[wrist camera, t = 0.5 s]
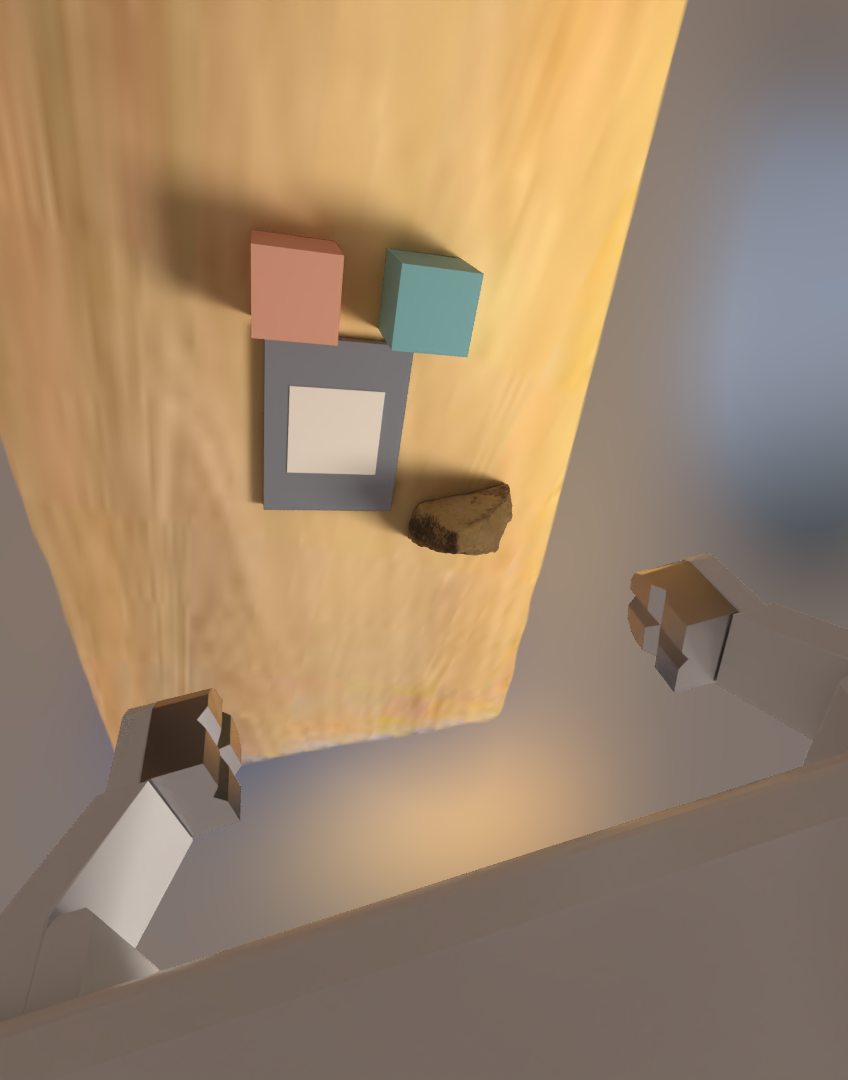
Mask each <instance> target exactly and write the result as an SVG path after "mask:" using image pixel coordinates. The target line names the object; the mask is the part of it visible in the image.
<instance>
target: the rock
mask: <svg viewBox="0 0 848 1080" xmlns="http://www.w3.org/2000/svg"><path fill="white" fill-rule="evenodd" d="M511 519H512V502H511V497H510V488H509V486H508V484H505V485H499V486H495V487H492V488H488V489H485V490H480V491H475V492H472V493H468V494H464V495H454V496H450V497H444V498H441V499H437V500H435V501H426V502H423V503H421V504H419V505H418V506H417V508H416V510H415V512H414V514H413V516H412V518H411V520H410V523H409V535H408V538H409V539H411V540H412V542H413V543H415V544H417V545H418V546H420V547H428V548H429V549H431V550H434V551H436V552H441V553H452V554H466V555H480V554H488V553H489V552H496V551H497V550H498V548H499V542H500V539H501V537H502V535H503V533H504V530H505V528H506V525H507V523H508V522H509V521H511Z"/></svg>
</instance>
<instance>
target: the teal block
mask: <svg viewBox="0 0 848 1080" xmlns="http://www.w3.org/2000/svg"><path fill="white" fill-rule="evenodd" d="M483 275H484V274H483V273H481V272H480V271H478V270H477V269H475V268H474V267H473V266H471V265H470V264H468V263H467V262H465V261H464V260H462V259H461V258H454V257H446V256H439V255H432V254H425V253H417V252H410V251H403V250H395V249H388V248H387V251H386V260H385V269H384V278H383V288H382V297H381V306H380V315H379V324H378V329H379V331H380V332H381V334H382V336H383V337H384V339H385V341H386V342H387V344H388V346H389V347H390V349H391V351H402V352H414V353H425V354H436V355H448V356H459V357H467V356H468V351H469V346H470V341H471V336H472V331H473V326H474V321H475V315H476V310H477V305H478V300H479V295H480V290H481V285H482V280H483Z"/></svg>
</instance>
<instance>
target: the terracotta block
mask: <svg viewBox="0 0 848 1080" xmlns="http://www.w3.org/2000/svg"><path fill="white" fill-rule="evenodd" d="M343 267H344V254H343V253H342V251H341V250H340V249H339V247H338V246H337V244H336V243H335V241H330V240H323V239H315V238H308V237H301V236H294V235H286V234H279V233H272V232H264V231H257V230H251V338H256V339H267V340H278V341H290V342H301V343H312V344H324V345H335V346H338V334H339V320H340V307H341V293H342V280H343Z"/></svg>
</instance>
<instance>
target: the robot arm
mask: <svg viewBox="0 0 848 1080" xmlns="http://www.w3.org/2000/svg"><path fill="white" fill-rule="evenodd" d="M630 589H631V590H632V591H633V593H634V594H635V595H636V596H635V597H634V599H633V600H632V601H631V603H630V604H629V606H628V621H629V625H630V629H631V632H632V634H633V636H634V638H635V640H636V642H637V643H638V644H639V646H640V647H641V649H642V650H644V651H646V652H648V653H650V654H652V655H654V656H656V661H655V668H656V669H657V670H658V672H659V673H660V674H661V676H662V677H663V678H664V680H665V681H666V682H667V684H668V685H669V686H670V688H671V689H672V690H673V692H678V691H682V690H686V689H690V688H694V687H697V686H701V685H705V684H709V683H712V682H716V684H717V685H718V686H720V687H722V688H723V689H725V690H727V691H729V692H730V693H732V694H734V695H736V696H737V697H739V698H741V699H743V700H744V701H746V702H748V703H749V704H751V705H753V706H755V707H756V708H758V709H760V710H761V711H763V712H765V713H767V714H768V715H770V716H772V717H774V718H775V719H777V720H779V721H781V722H782V723H784V724H786V725H787V726H789V727H791V728H793V729H795V730H796V731H798V732H800V733H801V734H803V735H805V736H806V737H808V738H810V739H812V740H813V741H812V744H811V746H810V748H809V750H808V752H807V755H806V757H805V759H804V763H803V766H801V767H798V768H795V769H792V770H789V771H786V772H782V773H779V774H776V775H773V776H770V777H767V778H764V779H761V780H757V781H754V782H752V783H748V784H745V785H742V786H739V787H735V788H733V789H729V790H726V791H723V792H720V793H717V794H714V795H710V796H707V797H704V798H701V799H698V800H695V801H692V802H688V803H686V804H682V805H679V806H676V807H673V808H670V809H666V810H663V811H660V812H657V813H654V814H651V815H648V816H645V817H641V818H638V819H635V820H632V821H629V822H626V823H622V824H619V825H616V826H613V827H610V828H607V829H604V830H600V831H597V832H594V833H591V834H588V835H585V836H582V837H579V838H575V839H572V840H569V841H566V842H563V843H560V844H557V845H553V846H550V847H547V848H544V849H541V850H538V851H535V852H532V853H528V854H525V855H523V856H519V857H516V858H513V859H510V860H507V861H503V862H500V863H497V864H494V865H491V866H488V867H485V868H481V869H478V870H475V871H472V872H469V873H466V874H463V875H460V876H456V877H453V878H450V879H447V880H444V881H441V882H438V883H435V884H432V885H428V886H425V887H422V888H419V889H416V890H413V891H410V892H407V893H403V894H400V895H398V896H394V897H391V898H388V899H385V900H381V901H378V902H376V903H372V904H369V905H366V906H363V907H359V908H356V909H353V910H350V911H347V912H344V913H341V914H338V915H334V916H331V917H328V918H325V919H322V920H319V921H316V922H313V923H309V924H306V925H303V926H300V927H297V928H294V929H291V930H287V931H284V932H281V933H278V934H275V935H272V936H269V937H266V938H262V939H260V940H256V941H253V942H250V943H247V944H244V945H241V946H237V947H234V948H231V949H228V950H225V951H222V952H219V953H216V954H212V955H209V956H206V957H203V958H200V959H197V960H194V961H190V962H187V963H184V964H181V965H178V966H175V967H172V968H169V969H165V970H162V971H160V970H159V969H158V968H157V967H156V966H155V965H154V964H152V963H151V962H150V961H149V960H148V959H147V958H145V957H144V956H143V955H142V954H141V953H140V952H138V951H137V950H136V949H135V947H136V945H137V944H138V942H139V940H140V938H141V936H142V934H143V932H144V930H145V928H146V927H147V925H148V923H149V921H150V919H151V917H152V916H153V914H154V912H155V910H156V908H157V906H158V904H159V902H160V901H161V899H162V897H163V895H164V893H165V891H166V889H167V887H168V886H169V884H170V882H171V880H172V878H173V876H174V874H175V873H176V871H177V869H178V867H179V865H180V863H181V861H182V859H183V858H184V856H185V854H186V852H187V850H188V848H189V846H190V844H191V843H192V841H193V839H192V837H194V836H197V835H200V834H203V833H206V832H209V831H212V830H215V829H218V828H221V827H224V826H227V825H230V824H233V823H236V822H239V821H240V814H241V812H240V811H241V786H240V784H239V782H238V781H237V779H236V777H235V774H236V772H237V771H238V769H239V768H240V766H241V744H240V738H239V733H238V730H237V727H236V724H235V722H234V720H233V718H232V716H231V715H229V714H227V713H224V712H222V703H223V700H222V698H221V697H220V695H219V693H218V692H217V690H216V689H213V688H211V689H207V690H202V691H198V692H194V693H190V694H186V695H182V696H178V697H174V698H170V699H166V700H162V701H158V702H156V703H152V704H148V705H144V706H140V707H135V708H131V709H128V710H127V712H126V713H125V715H124V716H123V718H122V722H121V726H120V731H119V735H118V740H117V744H116V749H115V753H114V758H113V762H112V767H111V772H110V776H109V781H108V785H107V790H106V793H103V794H100V795H97V796H96V797H95V799H94V800H93V801H92V802H91V803H90V805H89V806H88V807H87V808H86V810H85V811H84V812H83V813H82V815H81V816H80V817H79V818H78V819H77V821H76V822H75V823H74V824H73V826H72V827H71V828H70V829H69V830H68V832H67V833H66V834H65V835H64V836H63V838H62V839H61V840H60V841H59V843H58V844H57V845H56V846H55V847H54V849H53V850H52V851H51V852H50V854H49V855H48V856H47V857H46V859H45V860H44V861H43V862H42V863H41V865H40V866H39V867H38V868H37V870H36V871H35V872H34V873H33V874H32V876H31V877H30V878H29V879H28V881H27V882H26V883H25V884H24V885H23V887H22V888H21V889H20V890H19V892H18V893H17V894H16V895H15V897H14V898H13V899H12V900H11V901H10V903H9V904H8V905H7V906H6V908H5V909H4V910H3V911H2V912H1V914H0V1080H848V629H845V628H842V627H839V626H837V625H834V624H831V623H828V622H825V621H823V620H820V619H817V618H814V617H811V616H809V615H806V614H803V613H800V612H797V611H794V610H792V609H789V608H786V607H783V606H780V605H777V604H775V603H772V604H768V605H766V604H765V603H764V602H763V601H762V600H761V599H759V598H758V597H757V596H756V595H755V594H754V593H753V592H752V591H751V590H750V589H749V588H748V587H747V586H746V585H744V584H743V583H742V582H741V581H740V580H739V579H738V578H737V577H736V576H735V575H734V574H733V573H732V572H730V571H729V570H728V569H727V568H726V567H725V566H724V565H723V564H722V563H721V562H720V561H719V560H718V559H717V558H715V557H714V556H713V555H710V554H708V553H705V554H701V555H698V556H694V557H690V558H687V559H684V560H682V561H676V562H672V563H669V564H666V565H662V566H658V567H655V568H651V569H648V570H644V571H640V572H637V573H635V574H634V575H633V577H632V579H631V586H630Z"/></svg>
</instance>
